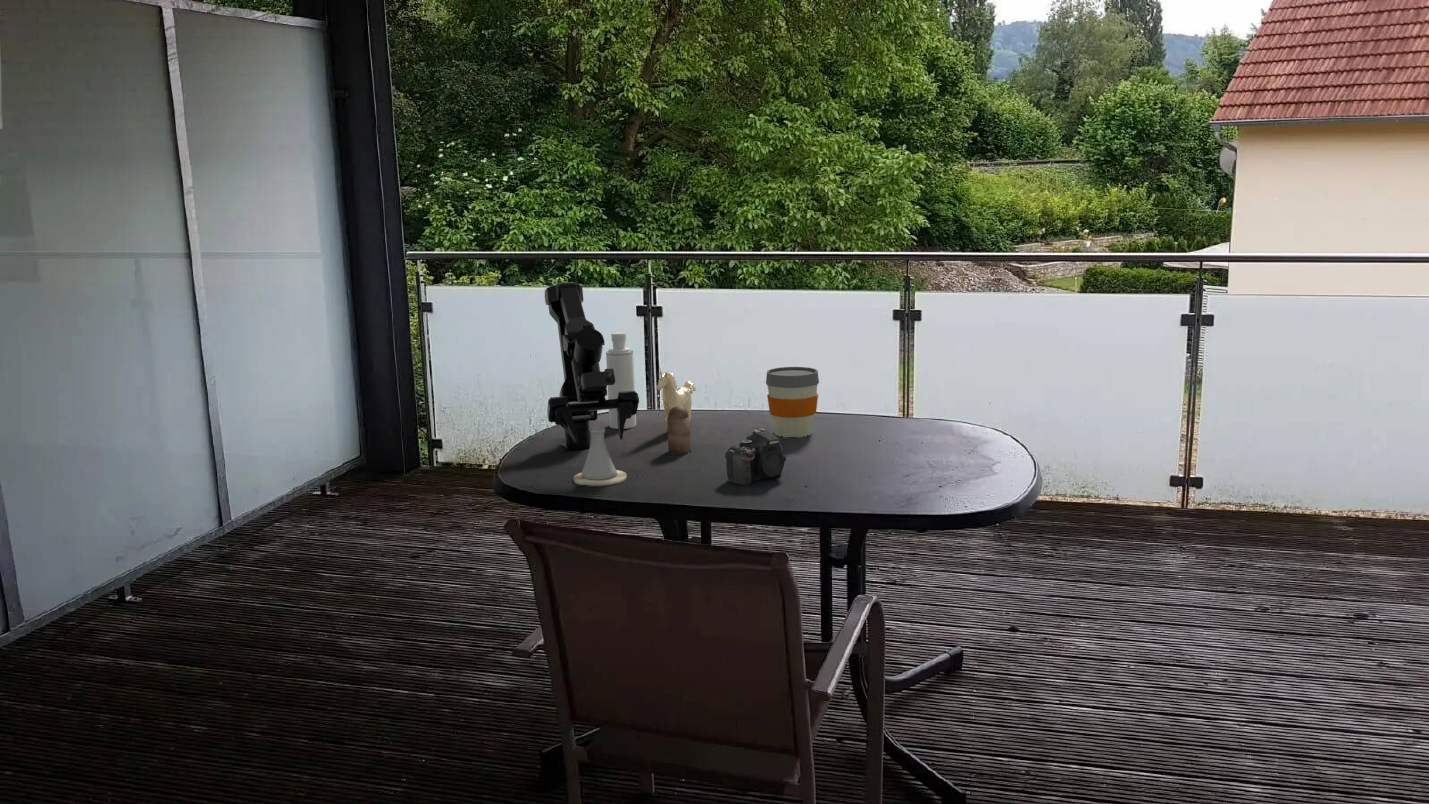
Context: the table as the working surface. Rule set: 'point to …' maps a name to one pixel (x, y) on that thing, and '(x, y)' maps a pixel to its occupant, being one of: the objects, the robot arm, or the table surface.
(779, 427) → the reusable coffee cup
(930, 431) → the table surface
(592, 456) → the flask
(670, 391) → the unicorn
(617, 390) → the spray bottle
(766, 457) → the camera
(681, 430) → the pepper shaker
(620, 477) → the coaster
